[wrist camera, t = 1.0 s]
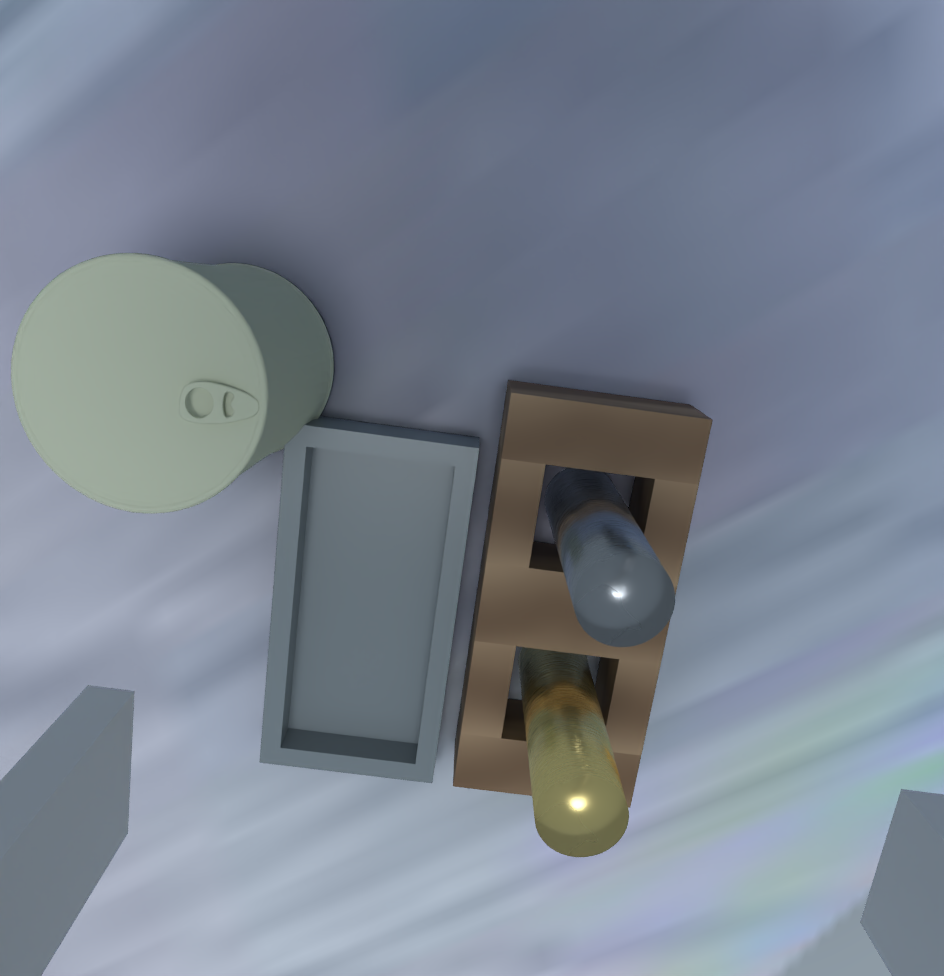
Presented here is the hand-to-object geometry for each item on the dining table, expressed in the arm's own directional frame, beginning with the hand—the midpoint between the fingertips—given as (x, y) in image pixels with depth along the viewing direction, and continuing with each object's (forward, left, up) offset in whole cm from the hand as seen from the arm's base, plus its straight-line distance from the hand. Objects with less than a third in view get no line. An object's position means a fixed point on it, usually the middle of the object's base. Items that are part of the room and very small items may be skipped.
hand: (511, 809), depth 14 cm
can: (-3, -12, -29) cm, 31 cm away
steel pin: (+2, +5, -29) cm, 29 cm away
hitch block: (+7, +5, -29) cm, 30 cm away
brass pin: (+11, +5, -29) cm, 31 cm away
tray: (+9, -5, -29) cm, 30 cm away
